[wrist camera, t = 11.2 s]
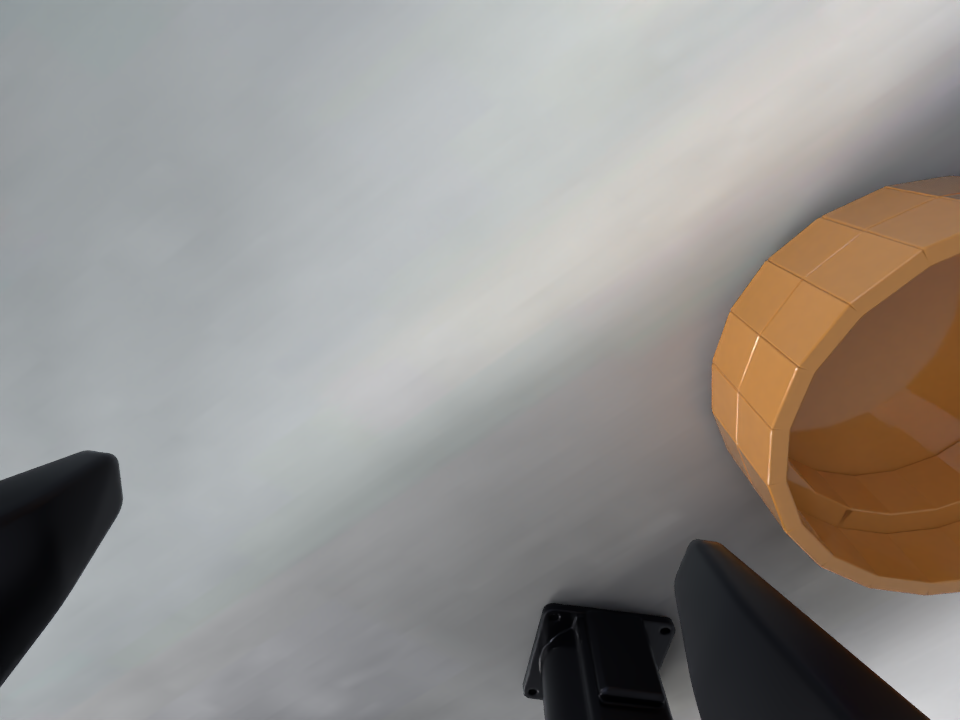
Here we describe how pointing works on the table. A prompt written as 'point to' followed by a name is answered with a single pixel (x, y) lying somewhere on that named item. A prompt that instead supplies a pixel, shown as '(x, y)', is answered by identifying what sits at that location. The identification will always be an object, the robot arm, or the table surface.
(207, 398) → the table surface
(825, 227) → the bowl
